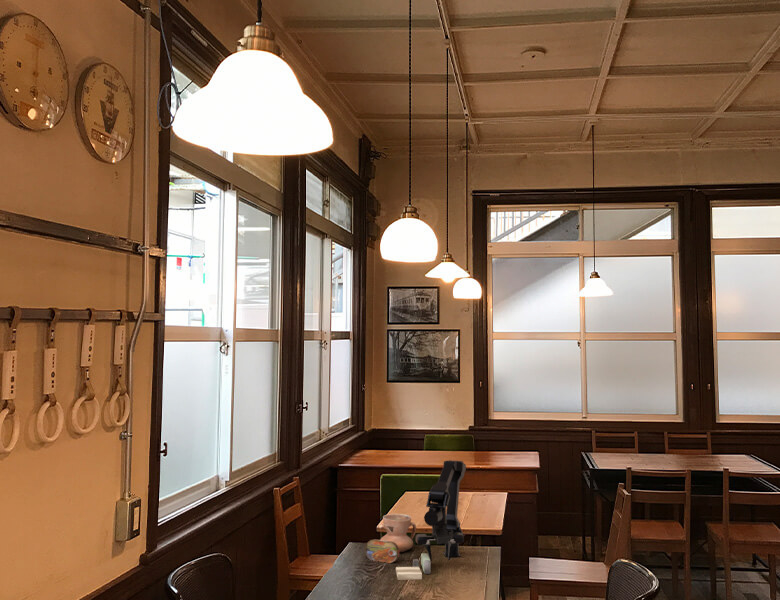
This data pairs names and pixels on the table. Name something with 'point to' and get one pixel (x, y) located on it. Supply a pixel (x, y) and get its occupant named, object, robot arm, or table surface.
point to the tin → (382, 551)
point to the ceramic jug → (398, 530)
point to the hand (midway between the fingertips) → (440, 560)
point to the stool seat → (408, 573)
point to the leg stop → (415, 563)
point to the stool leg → (426, 563)
